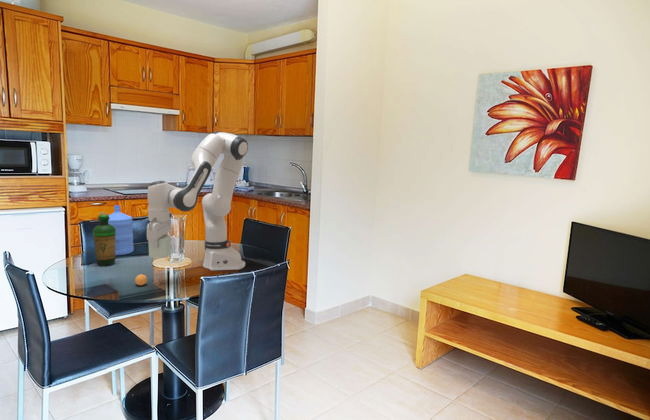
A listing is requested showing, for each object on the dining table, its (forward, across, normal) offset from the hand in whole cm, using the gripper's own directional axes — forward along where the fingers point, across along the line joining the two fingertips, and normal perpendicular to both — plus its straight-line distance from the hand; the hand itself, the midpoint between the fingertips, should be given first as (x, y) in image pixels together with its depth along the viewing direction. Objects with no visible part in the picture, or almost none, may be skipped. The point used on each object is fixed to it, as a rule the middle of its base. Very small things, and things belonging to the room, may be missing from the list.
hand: (159, 245), depth 191 cm
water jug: (+18, +50, +44) cm, 69 cm away
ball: (+15, -4, +8) cm, 18 cm away
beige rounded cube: (+5, 0, 0) cm, 5 cm away
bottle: (+18, +26, +39) cm, 51 cm away
